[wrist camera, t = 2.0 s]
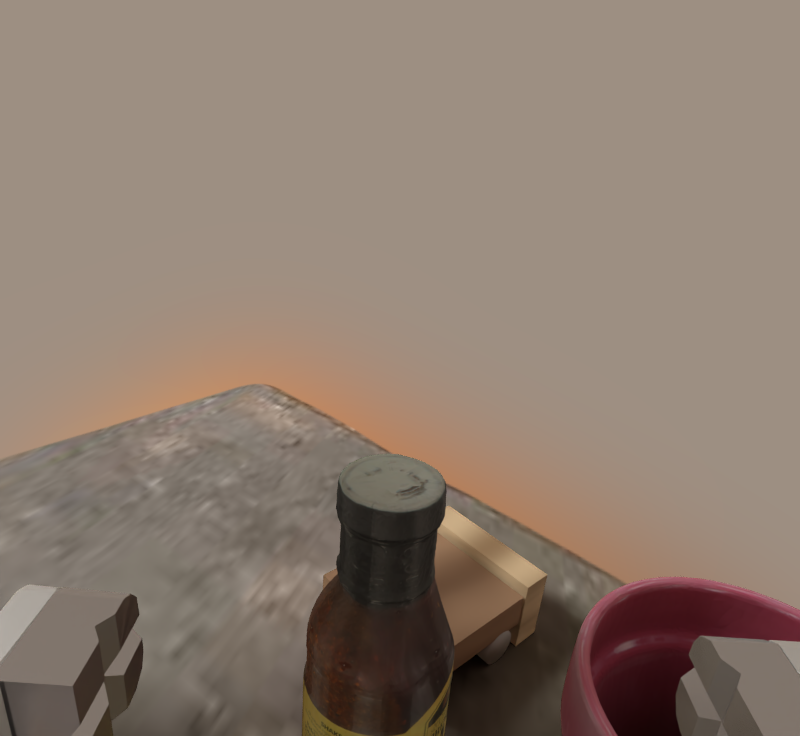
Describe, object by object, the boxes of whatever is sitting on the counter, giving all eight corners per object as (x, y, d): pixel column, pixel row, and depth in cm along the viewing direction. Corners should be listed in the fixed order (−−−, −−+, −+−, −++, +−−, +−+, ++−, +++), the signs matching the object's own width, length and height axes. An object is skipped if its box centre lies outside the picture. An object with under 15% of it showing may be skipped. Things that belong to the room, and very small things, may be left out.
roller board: (321, 626, 42) (323, 567, 40) (441, 558, 49) (448, 505, 47) (412, 725, 36) (420, 662, 34) (534, 632, 43) (547, 574, 41)
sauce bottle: (440, 896, 28) (509, 541, 20) (300, 917, 27) (313, 550, 19) (414, 756, 34) (458, 438, 26) (297, 768, 33) (307, 440, 25)
